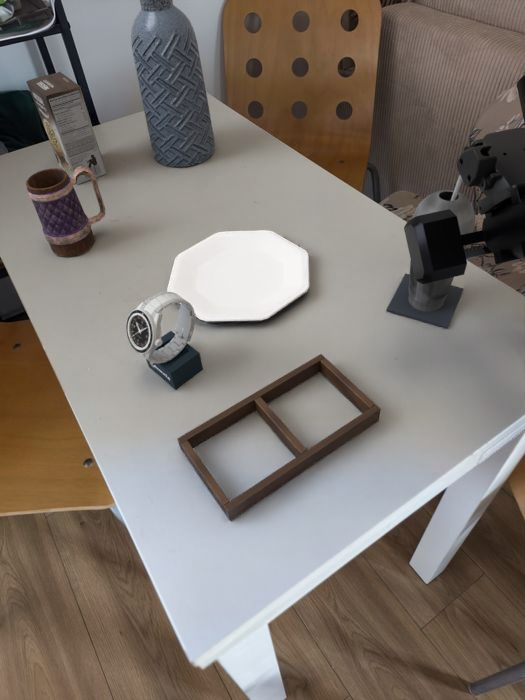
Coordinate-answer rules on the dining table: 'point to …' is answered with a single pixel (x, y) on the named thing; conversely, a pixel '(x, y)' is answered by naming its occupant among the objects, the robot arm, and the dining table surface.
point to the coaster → (437, 318)
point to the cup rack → (279, 433)
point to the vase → (171, 85)
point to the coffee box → (67, 124)
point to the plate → (240, 276)
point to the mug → (64, 210)
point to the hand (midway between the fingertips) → (460, 247)
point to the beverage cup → (436, 292)
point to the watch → (165, 339)
